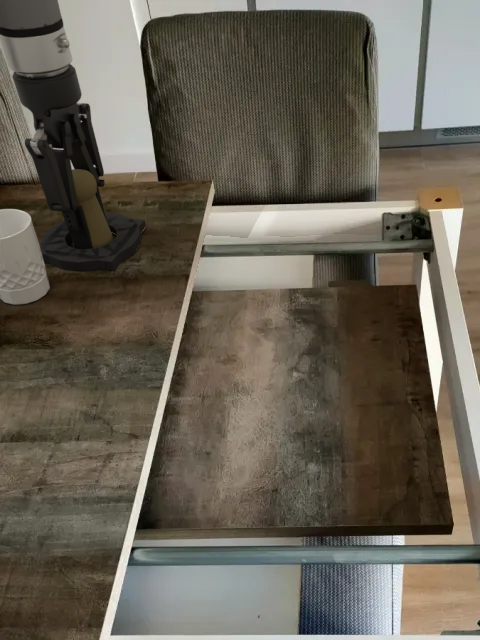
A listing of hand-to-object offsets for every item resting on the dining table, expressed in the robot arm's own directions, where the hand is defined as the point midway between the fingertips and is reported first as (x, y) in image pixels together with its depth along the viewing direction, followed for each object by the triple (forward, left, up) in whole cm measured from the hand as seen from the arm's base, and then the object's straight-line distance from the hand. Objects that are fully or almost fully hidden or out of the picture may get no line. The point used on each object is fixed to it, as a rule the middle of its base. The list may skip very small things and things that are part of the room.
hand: (92, 238), depth 97 cm
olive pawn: (0, 0, -1) cm, 1 cm away
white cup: (-4, -13, -1) cm, 14 cm away
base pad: (0, 0, -1) cm, 1 cm away
